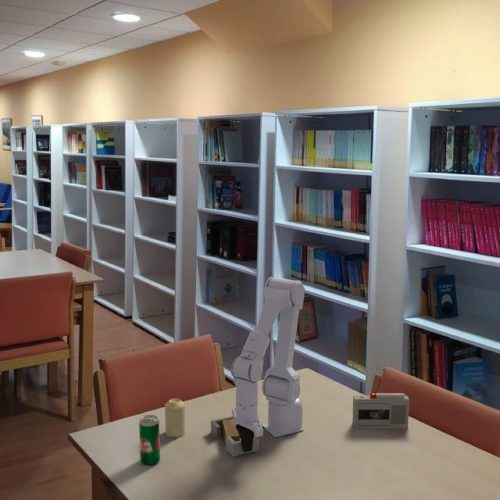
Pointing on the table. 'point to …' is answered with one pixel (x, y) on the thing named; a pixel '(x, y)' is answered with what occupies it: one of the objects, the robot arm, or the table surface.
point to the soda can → (149, 440)
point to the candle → (175, 418)
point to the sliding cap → (236, 446)
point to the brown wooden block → (230, 430)
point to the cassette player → (380, 410)
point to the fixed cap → (218, 426)
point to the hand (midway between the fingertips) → (246, 450)
